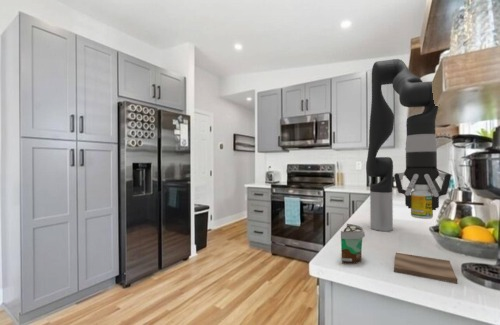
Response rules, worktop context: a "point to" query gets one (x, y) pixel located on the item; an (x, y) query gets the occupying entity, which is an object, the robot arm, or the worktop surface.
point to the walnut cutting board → (424, 267)
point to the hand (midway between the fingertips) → (421, 208)
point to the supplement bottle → (421, 202)
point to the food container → (351, 244)
